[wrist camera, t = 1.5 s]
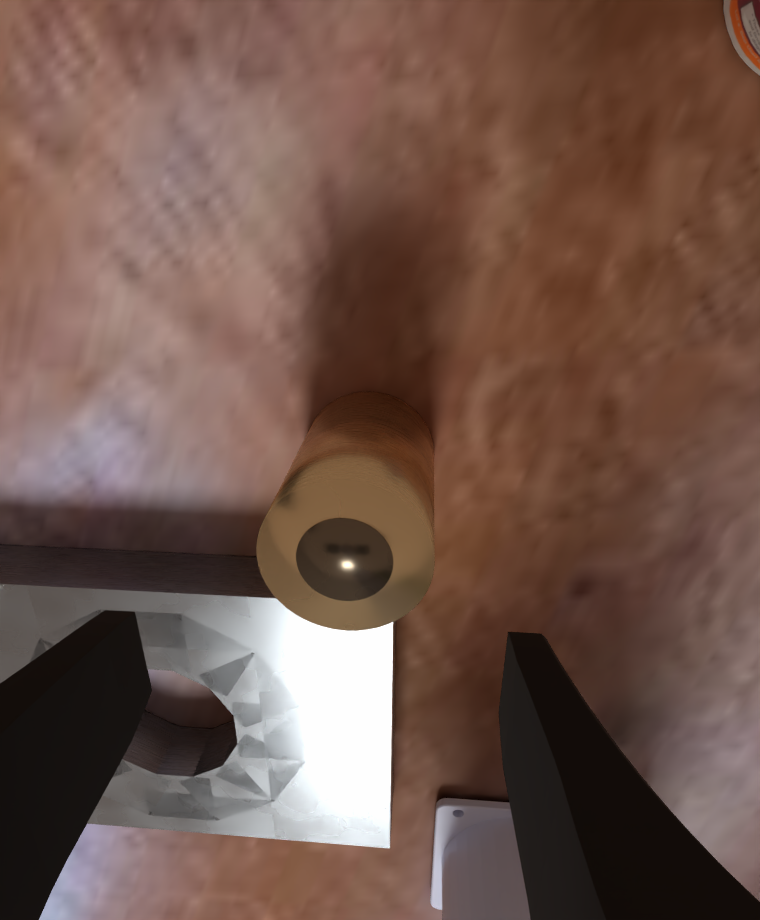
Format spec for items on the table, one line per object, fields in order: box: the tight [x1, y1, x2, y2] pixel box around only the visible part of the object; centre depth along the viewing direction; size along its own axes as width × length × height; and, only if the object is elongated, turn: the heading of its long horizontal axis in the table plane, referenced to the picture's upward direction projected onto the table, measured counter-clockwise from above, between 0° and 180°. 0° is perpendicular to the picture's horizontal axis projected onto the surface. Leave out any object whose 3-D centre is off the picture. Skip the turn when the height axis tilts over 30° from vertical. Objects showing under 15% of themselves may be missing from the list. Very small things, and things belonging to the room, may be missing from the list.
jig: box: [0, 545, 396, 848], centre depth 24 cm, size 18×13×4 cm
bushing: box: [256, 392, 434, 631], centre depth 17 cm, size 4×4×7 cm
